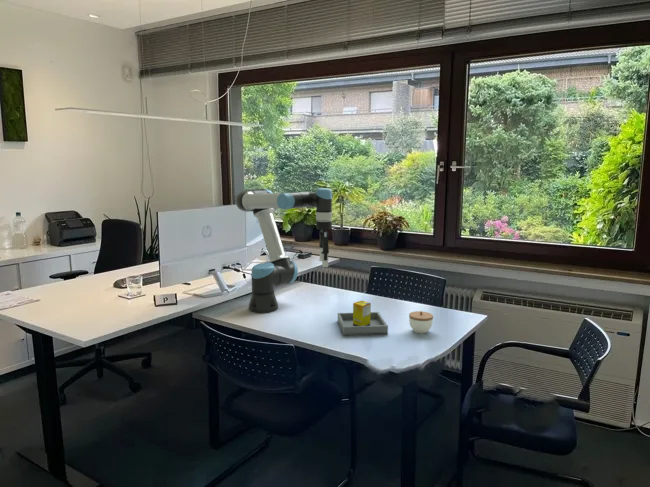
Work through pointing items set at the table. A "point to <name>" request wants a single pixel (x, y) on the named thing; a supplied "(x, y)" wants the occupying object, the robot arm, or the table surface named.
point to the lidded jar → (420, 321)
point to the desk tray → (374, 328)
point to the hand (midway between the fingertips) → (323, 263)
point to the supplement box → (361, 313)
